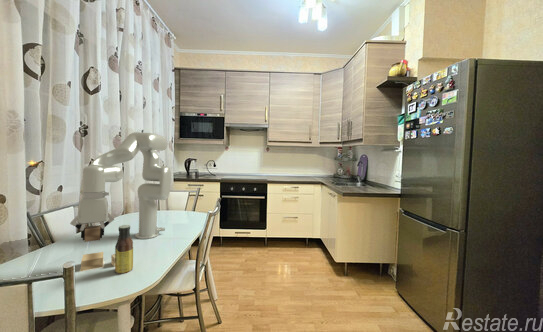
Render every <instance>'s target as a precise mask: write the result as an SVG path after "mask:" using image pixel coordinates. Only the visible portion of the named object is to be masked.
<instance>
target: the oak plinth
mask: <svg viewBox="0 0 543 332" xmlns="http://www.w3.org/2000/svg"><path fill="white" fill-rule="evenodd" d="M103 260H104V251H97V252H93V253H86V254H82V258H81V262H80V265H81V266H80V268H81V271H82V272H85V271H84V270H87V271H90V270H89V269H93V270H96V269H95V268H98V269H101V268H100V267H103ZM103 268H104V267H103Z"/></svg>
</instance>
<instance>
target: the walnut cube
mask: <svg viewBox="0 0 543 332" xmlns="http://www.w3.org/2000/svg"><path fill="white" fill-rule="evenodd" d="M100 228H101V225H100V224H98V225H89V226H86V225H85V240H84V243H86V242H93V241H94V242H95V241H101V238H100Z"/></svg>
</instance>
